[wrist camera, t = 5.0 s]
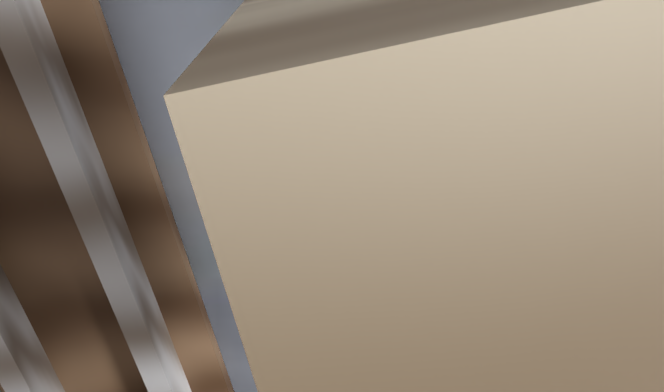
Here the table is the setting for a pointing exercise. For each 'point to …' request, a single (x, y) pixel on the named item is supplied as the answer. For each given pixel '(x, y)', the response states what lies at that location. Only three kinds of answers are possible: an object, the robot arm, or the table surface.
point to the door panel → (435, 191)
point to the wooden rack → (87, 222)
